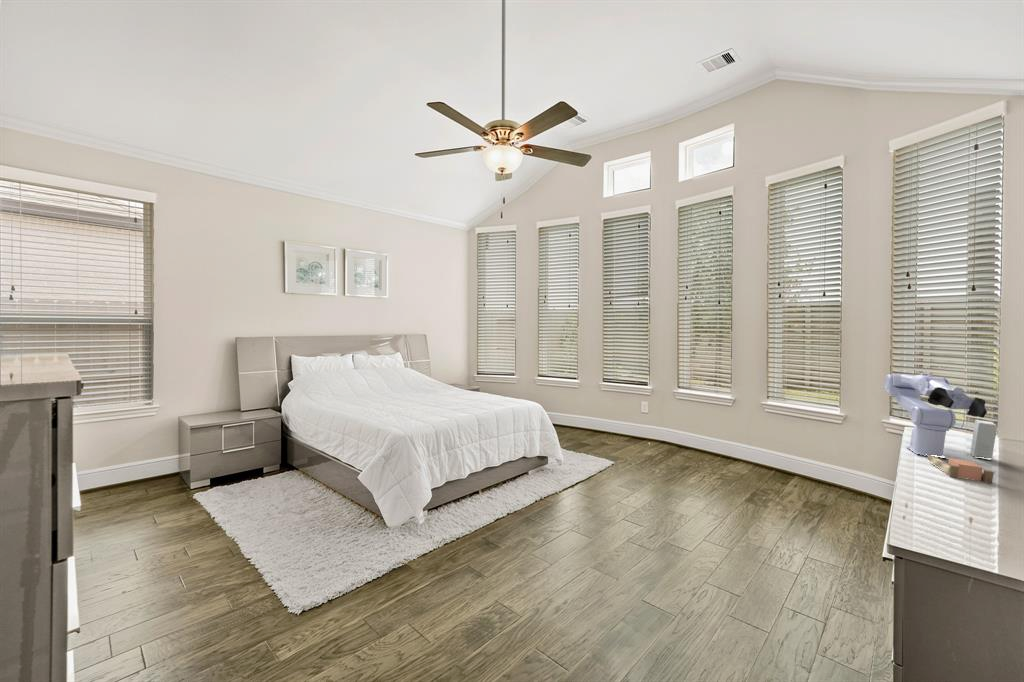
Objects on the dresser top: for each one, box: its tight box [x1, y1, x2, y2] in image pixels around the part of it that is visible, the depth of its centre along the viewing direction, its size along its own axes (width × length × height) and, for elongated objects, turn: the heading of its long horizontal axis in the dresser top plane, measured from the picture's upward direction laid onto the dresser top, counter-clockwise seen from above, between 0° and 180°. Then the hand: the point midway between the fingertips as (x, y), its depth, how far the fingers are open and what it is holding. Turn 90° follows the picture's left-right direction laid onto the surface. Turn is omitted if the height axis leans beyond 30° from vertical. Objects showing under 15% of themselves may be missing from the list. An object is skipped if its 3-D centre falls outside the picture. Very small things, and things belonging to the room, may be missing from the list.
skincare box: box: [970, 419, 998, 459], centre depth 146 cm, size 6×4×12 cm
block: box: [947, 457, 984, 481], centre depth 128 cm, size 6×5×4 cm
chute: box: [926, 455, 995, 484], centre depth 131 cm, size 15×9×3 cm, turn 155°
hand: (967, 409), depth 127 cm, fingers open, 7 cm apart
